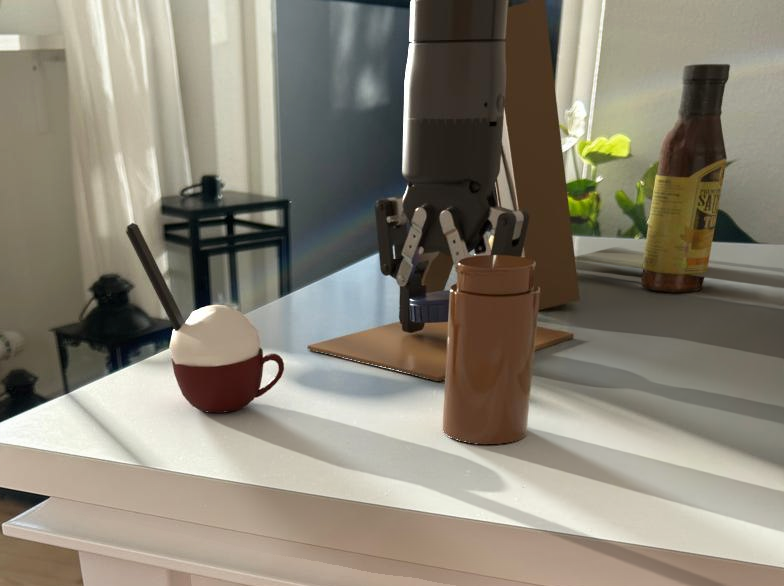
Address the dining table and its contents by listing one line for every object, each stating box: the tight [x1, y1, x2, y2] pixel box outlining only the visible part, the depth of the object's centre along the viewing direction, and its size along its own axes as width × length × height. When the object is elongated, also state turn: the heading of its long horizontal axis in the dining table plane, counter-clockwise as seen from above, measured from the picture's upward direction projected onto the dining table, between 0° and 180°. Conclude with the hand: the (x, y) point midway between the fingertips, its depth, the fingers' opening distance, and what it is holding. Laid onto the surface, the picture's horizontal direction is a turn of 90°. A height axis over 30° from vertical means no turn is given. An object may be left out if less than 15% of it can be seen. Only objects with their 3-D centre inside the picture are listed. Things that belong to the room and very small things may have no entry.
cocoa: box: [125, 222, 285, 413], centre depth 69 cm, size 10×6×12 cm, turn 60°
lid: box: [409, 289, 450, 323], centre depth 84 cm, size 6×6×2 cm
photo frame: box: [422, 0, 581, 311], centre depth 99 cm, size 15×22×25 cm
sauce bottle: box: [641, 63, 731, 293], centre depth 99 cm, size 6×6×20 cm
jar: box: [442, 255, 540, 445], centre depth 64 cm, size 5×5×10 cm
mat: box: [306, 320, 574, 382], centre depth 86 cm, size 18×14×1 cm
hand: (442, 336), depth 85 cm, fingers closed on lid, 5 cm apart
